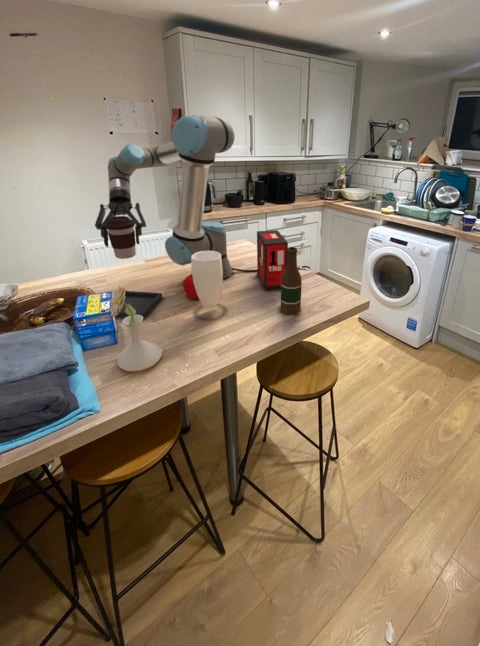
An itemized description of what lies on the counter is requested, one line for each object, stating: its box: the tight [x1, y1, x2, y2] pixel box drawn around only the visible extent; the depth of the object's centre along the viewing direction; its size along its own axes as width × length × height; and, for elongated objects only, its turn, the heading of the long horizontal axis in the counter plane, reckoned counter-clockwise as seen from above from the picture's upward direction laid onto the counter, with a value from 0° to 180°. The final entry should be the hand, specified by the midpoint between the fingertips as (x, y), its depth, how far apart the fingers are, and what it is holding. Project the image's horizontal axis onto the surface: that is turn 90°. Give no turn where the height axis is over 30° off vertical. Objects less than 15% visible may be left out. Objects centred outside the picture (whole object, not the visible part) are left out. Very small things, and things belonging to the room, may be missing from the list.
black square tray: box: [114, 290, 164, 321], centre depth 119 cm, size 15×15×2 cm
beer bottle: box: [280, 246, 302, 316], centre depth 118 cm, size 8×8×24 cm
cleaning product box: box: [256, 229, 289, 291], centre depth 140 cm, size 16×9×20 cm, turn 18°
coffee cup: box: [105, 215, 137, 260], centre depth 127 cm, size 10×10×15 cm
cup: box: [190, 251, 224, 309], centre depth 114 cm, size 10×10×22 cm
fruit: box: [182, 272, 199, 300], centre depth 127 cm, size 9×9×10 cm
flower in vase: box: [109, 285, 163, 372], centre depth 88 cm, size 13×11×25 cm
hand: (122, 243), depth 125 cm, fingers closed on coffee cup, 10 cm apart
